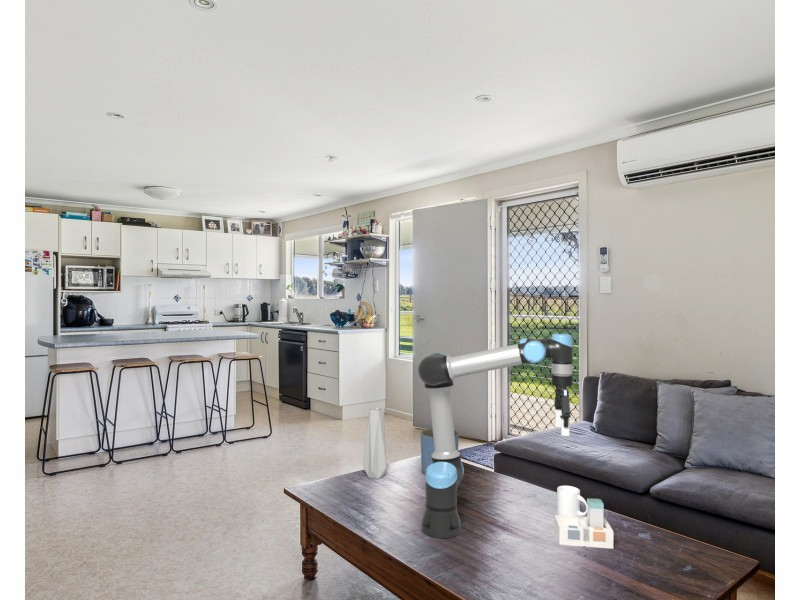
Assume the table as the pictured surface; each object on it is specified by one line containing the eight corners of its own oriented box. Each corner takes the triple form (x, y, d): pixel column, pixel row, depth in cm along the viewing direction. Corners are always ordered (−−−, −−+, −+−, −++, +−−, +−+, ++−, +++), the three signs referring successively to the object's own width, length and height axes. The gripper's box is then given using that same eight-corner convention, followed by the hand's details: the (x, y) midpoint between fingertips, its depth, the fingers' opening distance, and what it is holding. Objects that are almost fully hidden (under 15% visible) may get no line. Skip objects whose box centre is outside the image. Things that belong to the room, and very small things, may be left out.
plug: (590, 537, 178) (590, 503, 178) (587, 531, 182) (587, 498, 182) (603, 538, 177) (603, 504, 177) (600, 532, 181) (600, 499, 182)
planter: (418, 477, 244) (418, 436, 244) (422, 465, 262) (423, 427, 263) (457, 480, 241) (457, 438, 241) (459, 467, 259) (459, 429, 260)
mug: (582, 525, 192) (582, 497, 192) (553, 516, 200) (553, 489, 200) (591, 518, 198) (591, 491, 198) (563, 510, 206) (563, 483, 206)
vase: (379, 482, 237) (379, 412, 237) (359, 477, 243) (360, 409, 244) (393, 475, 247) (393, 408, 247) (374, 471, 253) (374, 405, 254)
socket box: (559, 545, 176) (559, 527, 176) (554, 530, 187) (554, 514, 187) (613, 549, 173) (613, 531, 173) (605, 534, 184) (605, 517, 184)
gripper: (579, 379, 177) (579, 440, 176) (566, 370, 201) (566, 423, 201) (557, 379, 178) (557, 439, 177) (547, 370, 202) (546, 422, 202)
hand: (561, 431), depth 189 cm, fingers open, 13 cm apart
